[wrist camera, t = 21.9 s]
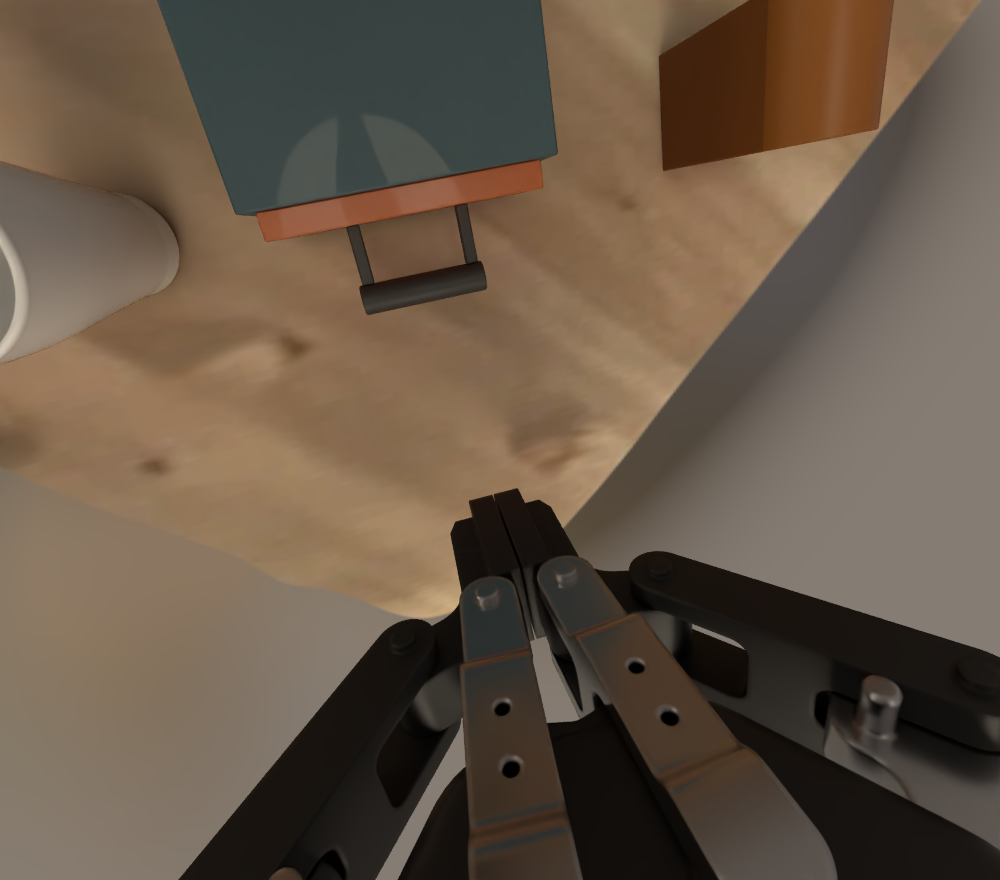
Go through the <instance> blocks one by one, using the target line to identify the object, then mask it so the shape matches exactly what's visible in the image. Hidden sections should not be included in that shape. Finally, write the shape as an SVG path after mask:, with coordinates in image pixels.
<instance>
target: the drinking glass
mask: <svg viewBox="0 0 1000 880" xmlns="http://www.w3.org/2000/svg"><path fill="white" fill-rule="evenodd" d="M179 262H180V252H179V246H178V243H177V240H176V237H175V235H174V233H173V231H172V229H171V228H170V226H169V225H168V223H167V222H166V221H165V219H164V218H163V217H162V216H161V215H160V214H159V213H158V212H157V211H156V210H154V209H153V208H152V207H151V206H149V205H148V204H146V203H144V202H143V201H141V200H139V199H137V198H135V197H132V196H129V195H126V194H122V193H118V192H111V191H103V190H100V189H96V188H92V187H89V186H85V185H82V184H78V183H75V182H71V181H68V180H64V179H61V178H57V177H54V176H50V175H47V174H44V173H40V172H37V171H34V170H30V169H27V168H23V167H20V166H16V165H13V164H9V163H6V162H2V161H0V365H1V364H4V363H7V362H11V361H14V360H17V359H20V358H23V357H25V356H28V355H31V354H34V353H37V352H39V351H42V350H44V349H47V348H49V347H52V346H54V345H56V344H58V343H60V342H62V341H65V340H67V339H69V338H71V337H73V336H75V335H76V334H78V333H80V332H82V331H84V330H86V329H88V328H89V327H91V326H93V325H95V324H96V323H98V322H100V321H102V320H104V319H105V318H107V317H109V316H111V315H113V314H114V313H116V312H118V311H120V310H122V309H124V308H125V307H127V306H129V305H131V304H133V303H135V302H137V301H139V300H141V299H142V298H146V297H149V296H152V295H154V294H157V293H159V292H160V291H162V290H164V289H165V288H166V287H167V286H168V285H169V284H170V283H171V282H172V281H173V279H174V278H175V276H176V273H177V271H178V268H179Z"/></svg>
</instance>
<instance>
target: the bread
mask: <svg viewBox="0 0 1000 880" xmlns="http://www.w3.org/2000/svg"><path fill="white" fill-rule="evenodd" d="M893 4H894V0H749V1H747V2H745V3H744V4H742V5H741V6H739V7H737V8H736V9H734V10H733V11H731V12H729V13H728V14H726V15H724V16H723V17H721V18H720V19H718V20H716V21H715V22H713V23H712V24H710V25H708V26H707V27H705V28H704V29H702V30H700V31H699V32H697V33H696V34H694V35H692V36H691V37H689V38H687V39H686V40H684V41H683V42H681V43H679V44H678V45H676V46H675V47H673V48H671V49H670V50H668V51H667V52H665V53H663V54H662V55H660V56H659V63H660V91H661V119H662V147H663V170H664V171H665V170H671V169H676V168H681V167H686V166H691V165H697V164H702V163H707V162H712V161H717V160H723V159H728V158H733V157H738V156H743V155H748V154H754V153H759V152H764V151H769V150H774V149H780V148H785V147H790V146H795V145H800V144H805V143H810V142H816V141H821V140H826V139H831V138H836V137H841V136H846V135H851V134H856V133H861V132H866V131H872V130H876V129H878V128H879V120H880V112H881V104H882V96H883V87H884V79H885V71H886V62H887V54H888V46H889V37H890V29H891V21H892V12H893Z"/></svg>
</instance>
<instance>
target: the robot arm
mask: <svg viewBox="0 0 1000 880" xmlns="http://www.w3.org/2000/svg"><path fill="white" fill-rule="evenodd" d="M494 499H495V501H494ZM469 505H470V509H471V513H472V518H468V519H464V520H460V521H456V522H455V524H454V526H453V529H452V531H451V533H450V535H451V540H452V545H453V550H454V555H455V560H456V565H457V570H458V576H459V581H460V586H461V592H462V593H461V595H460V600H459V604H458V606H457V608H456V609H455V610H454V611H453V612H452V613H451V614H450V615H449V616H448V617H446V618H445V619H444V620H442V621H440V622H438V623H436V624H435V625H433V626H431V625H430V624H429V623H427V622H426V621H423V620H419V619H409V620H404V621H401V622H398V623H396V624H394V625H392V626H391V627H389V628H388V629H387V630H385V631H384V632H383V633H382V634H381V635H380V636H379V638H378V639H377V640H376V641H375V643H374V644H373V645H372V646H371V647H370V649H369V650H368V651H367V652H366V653H365V655H364V656H363V657H362V658H361V659H360V661H359V662H358V663H357V664H356V666H355V667H354V668H353V669H352V670H351V672H350V673H349V674H348V675H347V676H346V678H345V679H344V680H343V681H342V682H341V684H340V685H339V686H338V687H337V689H336V690H335V691H334V692H333V693H332V695H331V696H330V697H329V698H328V700H327V701H326V702H325V703H324V704H323V705H322V707H321V708H320V709H319V710H318V712H317V713H316V714H315V715H314V717H313V718H312V719H311V720H310V721H309V723H308V724H307V725H306V726H305V727H304V729H303V730H302V731H301V732H300V733H299V735H298V736H297V737H296V738H295V739H294V741H293V742H292V743H291V744H290V745H289V747H288V748H287V749H286V750H285V751H284V753H283V754H282V755H281V757H280V758H279V759H278V760H277V761H276V762H275V764H274V765H273V766H272V767H271V769H270V770H269V771H268V772H267V773H266V774H265V776H264V777H263V778H262V779H261V781H260V782H259V783H258V784H257V785H256V787H255V788H254V789H253V790H252V791H251V793H250V794H249V795H248V796H247V798H246V799H245V800H244V801H243V802H242V804H241V805H240V806H239V807H238V808H237V810H236V811H235V812H234V813H233V814H232V816H231V817H230V818H229V819H228V821H227V822H226V823H225V824H224V825H223V827H222V828H221V829H220V830H219V832H218V833H217V834H216V835H215V836H214V837H213V839H212V840H211V841H210V842H209V844H208V845H207V846H206V847H205V848H204V850H203V851H202V852H201V853H200V854H199V856H198V857H197V858H196V859H195V860H194V862H193V863H192V864H191V865H190V866H189V868H188V869H187V870H186V872H185V873H184V874H183V875H182V876H181V877H180V879H179V880H375V879H376V878H377V876H378V874H379V872H380V870H381V869H382V867H383V865H384V863H385V862H386V860H387V858H388V856H389V854H390V853H391V851H392V849H393V847H394V845H395V844H396V842H397V840H398V838H399V836H400V835H401V833H402V831H403V829H404V827H405V826H406V824H407V822H408V820H409V818H410V817H411V815H412V813H413V811H414V810H415V808H416V806H417V804H418V802H419V801H420V799H421V797H422V795H423V793H424V792H425V790H426V788H427V786H428V785H429V783H430V781H431V779H432V777H433V776H434V774H435V772H436V770H437V769H438V767H439V765H440V763H441V761H442V759H443V758H444V756H445V754H446V752H447V751H448V749H449V747H450V745H451V743H452V742H453V740H454V738H455V736H456V734H457V733H458V730H459V728H460V724H461V718H462V717H463V728H464V729H463V730H464V745H465V761H466V767H465V768H463V769H462V770H461V771H460V772H459V773H458V774H457V775H456V776H455V777H454V778H453V780H452V781H451V782H450V783H449V784H448V786H447V787H446V788H445V790H444V791H443V793H442V794H441V796H440V797H439V799H438V800H437V802H436V804H435V806H434V807H433V810H432V811H431V813H430V815H429V818H428V819H427V821H426V824H425V826H424V828H423V830H422V832H421V834H420V836H419V838H418V840H417V842H416V844H415V846H414V848H413V850H412V852H411V854H410V856H409V858H408V860H407V862H406V864H405V866H404V868H403V870H402V872H401V874H400V876H399V878H398V880H1000V657H998V656H995V655H993V654H990V653H988V652H986V651H983V650H980V649H977V648H974V647H970V646H967V645H964V644H961V643H958V642H955V641H951V640H948V639H945V638H942V637H938V636H935V635H932V634H929V633H926V632H923V631H919V630H916V629H913V628H910V627H907V626H903V625H900V624H897V623H894V622H891V621H887V620H884V619H881V618H878V617H875V616H871V615H868V614H865V613H862V612H859V611H855V610H852V609H849V608H846V607H842V606H839V605H836V604H833V603H829V602H826V601H823V600H820V599H817V598H814V597H810V596H807V595H804V594H800V593H798V592H794V591H791V590H788V589H785V588H782V587H778V586H775V585H772V584H769V583H765V582H762V581H759V580H756V579H752V578H749V577H746V576H743V575H740V574H737V573H733V572H730V571H727V570H724V569H721V568H717V567H714V566H711V565H708V564H704V563H701V562H698V561H695V560H692V559H689V558H685V557H682V556H679V555H676V554H673V553H668V552H662V551H654V552H647V553H644V554H641V555H639V556H638V557H636V558H635V559H634V560H633V561H632V562H631V564H630V567H629V571H602V570H597V569H594V568H593V567H592V565H591V564H590V563H589V562H588V561H587V560H585V559H583V558H580V557H579V556H578V555H577V552H576V551H575V549H574V547H573V545H572V544H571V542H570V540H569V538H568V537H567V535H566V533H565V531H564V529H563V528H562V527H561V524H560V522H559V521H558V519H557V517H556V515H555V513H554V512H553V510H552V508H551V507H550V506H549V505H547V504H545V503H544V502H542V501H540V500H535V501H532V502H528V503H525V502H524V500H523V498H522V496H521V494H520V492H519V490H518V488H516V489H512V490H508V491H504V492H500V493H497V494H494V498H493V495H489V496H485V497H482V498H478V499H474V500H470V501H469ZM531 624H532V626H533V629H534V632H535V635H536V638H537V639H538V638H541V637H545V636H546V637H547V640H548V642H549V645H550V650H551V655H552V661H553V663H554V666H555V668H556V670H557V672H558V674H559V676H560V678H561V680H562V682H563V684H564V687H565V689H566V691H567V693H568V695H569V697H570V699H571V701H572V703H573V705H574V708H575V710H576V712H577V714H578V716H579V718H580V719H579V720H577V721H572V722H557V723H547V722H546V717H545V712H544V708H543V704H542V699H541V695H540V691H539V687H538V682H537V677H536V673H535V669H534V664H533V654H532V649H531V644H530V641H532V640H534V635H533V630H532V626H531ZM692 624H694V625H697V626H699V627H702V628H705V629H707V630H710V631H712V632H715V633H717V634H720V635H723V636H725V637H727V638H730V639H732V640H734V641H736V642H737V643H739V644H740V645H741V646H742V647H743V648H744V649H745V650H743V649H741V648H739V647H736V646H734V645H731V644H729V643H726V642H724V641H721V640H719V639H716V638H714V637H711V636H709V635H706V634H704V633H701V632H699V631H696V630H694V629H692Z"/></svg>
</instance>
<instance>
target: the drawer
mask: <svg viewBox="0 0 1000 880" xmlns="http://www.w3.org/2000/svg"><path fill="white" fill-rule="evenodd" d="M540 188H543V179H542V171H541V163H540V159H537V160H532V161H527V162H522V163H516V164H511V165H506V166H500V167H495V168H490V169H485V170H479V171H474V172H469V173H464V174H458V175H453V176H448V177H442V178H437V179H432V180H427V181H421V182H416V183H411V184H406V185H400V186H395V187H390V188H384V189H379V190H374V191H369V192H363V193H358V194H353V195H348V196H342V197H337V198H332V199H327V200H321V201H316V202H311V203H305V204H300V205H295V206H290V207H284V208H279V209H274V210H269V211H263V212H258V213H256V216H257V219H258V222H259V225H260V227H261V230H262V233H263V236H264V239H265V241H266V242H270V241H276V240H282V239H289V238H295V237H300V236H305V235H310V234H315V233H320V232H325V231H330V230H336V229H341V228H346V227H347V232H348V235H349V239H350V242H351V246H352V249H353V253H354V256H355V260H356V263H357V267H358V270H359V274H360V277H361V281H362V284H363V285H362V286H360V294H361V298H362V301H363V305H364V308H365V311H366V313H367V315H371V314H375V313H380V312H384V311H389V310H394V309H398V308H403V307H408V306H412V305H417V304H422V303H426V302H431V301H435V300H440V299H445V298H449V297H454V296H459V295H463V294H468V293H472V292H477V291H482V290H486V289H487V282H486V276H485V271H484V267H483V264H482V262H481V261H478V260H477V255H476V249H475V244H474V239H473V233H472V228H471V223H470V217H469V212H468V207H467V204H468V203H473V202H478V201H483V200H488V199H493V198H498V197H504V196H509V195H513V194H518V193H522V192H527V191H531V190H535V189H540ZM453 206H455V212H456V217H457V222H458V227H459V232H460V238H461V243H462V248H463V253H464V258H465V262H466V263H467V264H463V265H458V266H453V267H448V268H444V269H439V270H434V271H429V272H425V273H420V274H415V275H410V276H405V277H401V278H396V279H391V280H386V281H382V282H377V283H374V278H373V274H372V271H371V267H370V263H369V260H368V256H367V253H366V249H365V245H364V242H363V238H362V234H361V231H360V227H359V225H361V224H366V223H371V222H376V221H381V220H386V219H392V218H397V217H402V216H407V215H412V214H417V213H422V212H427V211H432V210H437V209H442V208H448V207H453Z"/></svg>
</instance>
